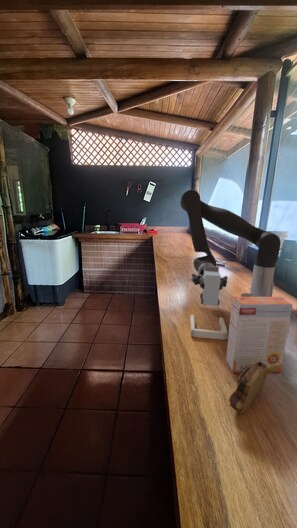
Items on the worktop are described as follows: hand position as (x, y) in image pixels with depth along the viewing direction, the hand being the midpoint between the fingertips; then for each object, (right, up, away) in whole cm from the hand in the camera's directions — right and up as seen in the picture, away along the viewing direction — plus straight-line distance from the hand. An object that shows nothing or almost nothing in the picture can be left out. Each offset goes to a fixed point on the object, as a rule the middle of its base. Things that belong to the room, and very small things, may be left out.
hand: (211, 286), depth 82 cm
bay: (0, -17, +6) cm, 18 cm away
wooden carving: (+1, -25, -26) cm, 36 cm away
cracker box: (+8, -22, -14) cm, 27 cm away
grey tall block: (0, -6, +4) cm, 7 cm away
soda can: (+16, -16, +11) cm, 25 cm away
